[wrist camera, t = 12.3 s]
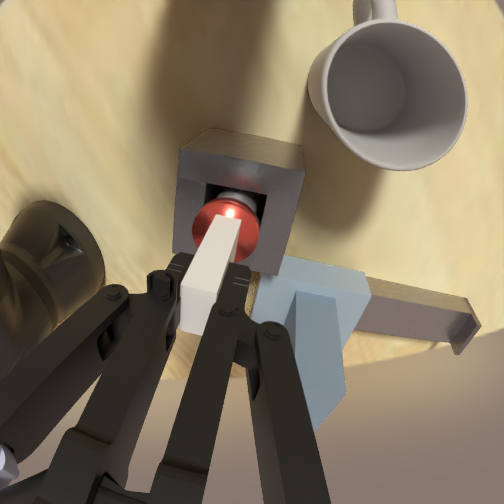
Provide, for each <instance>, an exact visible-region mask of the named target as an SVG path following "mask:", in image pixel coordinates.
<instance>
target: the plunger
mask: <svg viewBox="0 0 504 504" xmlns="http://www.w3.org/2000/svg"><path fill="white" fill-rule="evenodd" d="M260 196H261V194H260V193H256V192H251V191H246V190H241V189H236V188H231V187H226V186H223V188H222V189H221V191H220V193H219V194H218V196H217V198H216V199H213V200H211V201H209V202H208V203H206V204H205V205H204V206H203V207H202V208H201V210H200V211H199V213H198V214H197V216H196V217H195V219H194V222H193V225H192V236H193V240H194V242H195V244H196V246H197V247H198V248H199V246H200V245H201V243H202V241H203V239H204V237H205V235H206V233H207V231H208V229H209V227H210V225H211V223H212V221H213V219H214V217H215V216H216V214H217V215H222V216H227V217H232V218H236V219H241V220H242V221H241V227H240V232H239V237H238V243H237V248H236V254H235V259H234V263H235V262H239V261H242V260H244V259H246V258H247V257H248V256H250V255H251V254H252V253H253V251H254V250H255V248H256V245H257V242H258V237H259V232H260V226H259V221H258V218H257V216H256V211H257V207H258V204H259V200H260Z"/></svg>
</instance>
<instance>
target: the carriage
mask: <svg viewBox="0 0 504 504" xmlns="http://www.w3.org/2000/svg"><path fill="white" fill-rule="evenodd" d="M371 296H372V295H371V292H370V288H369V285H368V282H367V280H366V277H365V273H364V272H361V271H356V270H352V269H347V268H343V267H338V266H334V265H329V264H324V263H320V262H315V261H311V260H306V259H302V258H297V257H292V256H288V255H284V256H283V259H282V263H281V266H280V270H279V273H278V276H274V275H269V274H265V273H261V276H260V280H259V284H258V288H257V292H256V296H255V300H254V304H252V306H253V308H251V313H250V319H252V320H253V321H255V322H257V323H259V324H261V323H263V322H265V321H274V322H278V323H280V324H282V325H283V326H284V327H285V328H286V329H287V331H288V333H289V336H290V340H291V344H292V348H293V351H294V355H295V359H296V363H297V367H298V371H299V375H300V379H301V383H302V387H303V391H304V395H305V398H306V402H307V406H308V410H309V414H310V418H311V422H312V427H313V430H317V429H318V428H319V426H320V425H321V424H322V423H323V422H324V421H325V419H326V418H327V417H328V415H330V413H331V412H332V411H333V410H334V408H335V407H336V406H337V405H338V403H339V402H340V401H341V400H342V398H343V397H344V396H345V395H346V389H345V378H344V367H343V357H342V349H343V347H344V346H345V344H346V342H347V341H348V339H349V337H350V335H351V333H352V332H353V330H354V328H355V326H356V325H357V323H358V321H359V319H360V317H361V315H362V313H363V312H364V310H365V308H366V306H367V304H368V302H369V300H370V298H371Z"/></svg>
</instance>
